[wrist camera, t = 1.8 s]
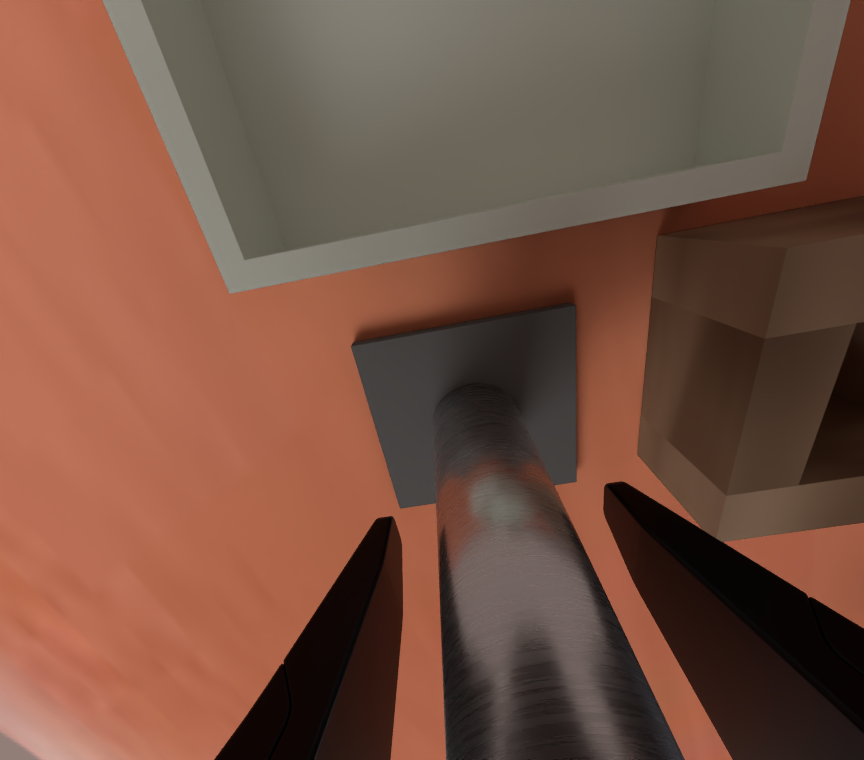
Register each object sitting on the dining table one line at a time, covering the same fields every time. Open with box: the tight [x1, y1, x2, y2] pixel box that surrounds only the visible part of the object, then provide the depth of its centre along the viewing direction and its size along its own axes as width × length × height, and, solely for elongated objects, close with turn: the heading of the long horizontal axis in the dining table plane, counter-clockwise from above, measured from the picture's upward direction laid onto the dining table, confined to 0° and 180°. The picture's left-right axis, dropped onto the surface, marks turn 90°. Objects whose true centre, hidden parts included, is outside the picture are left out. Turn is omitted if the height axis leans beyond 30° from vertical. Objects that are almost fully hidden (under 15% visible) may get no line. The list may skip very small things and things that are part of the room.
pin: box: [433, 383, 685, 760], centre depth 8 cm, size 3×3×9 cm
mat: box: [351, 302, 576, 508], centre depth 12 cm, size 7×7×1 cm
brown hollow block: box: [637, 196, 864, 542], centre depth 10 cm, size 8×8×4 cm
